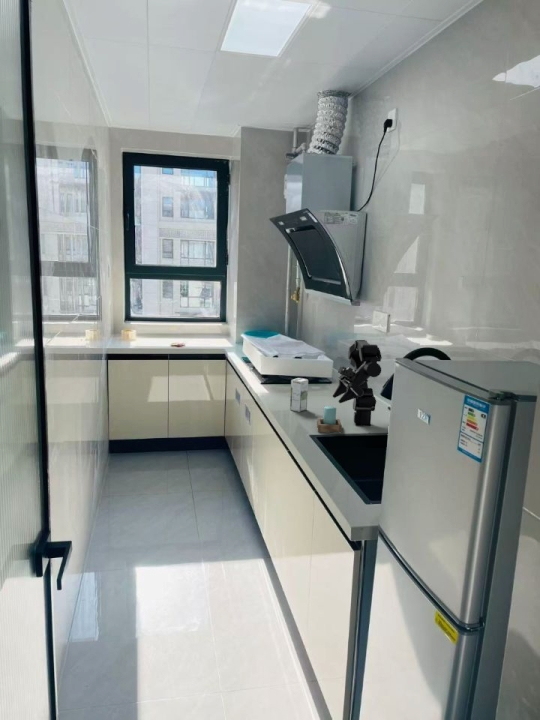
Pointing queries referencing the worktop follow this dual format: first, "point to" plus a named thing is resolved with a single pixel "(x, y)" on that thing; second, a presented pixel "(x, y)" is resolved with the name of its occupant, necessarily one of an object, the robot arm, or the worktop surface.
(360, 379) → the robot arm
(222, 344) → the worktop surface
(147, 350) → the worktop surface
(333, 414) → the peg
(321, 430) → the collar
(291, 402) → the syrup box
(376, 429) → the worktop surface
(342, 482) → the worktop surface
